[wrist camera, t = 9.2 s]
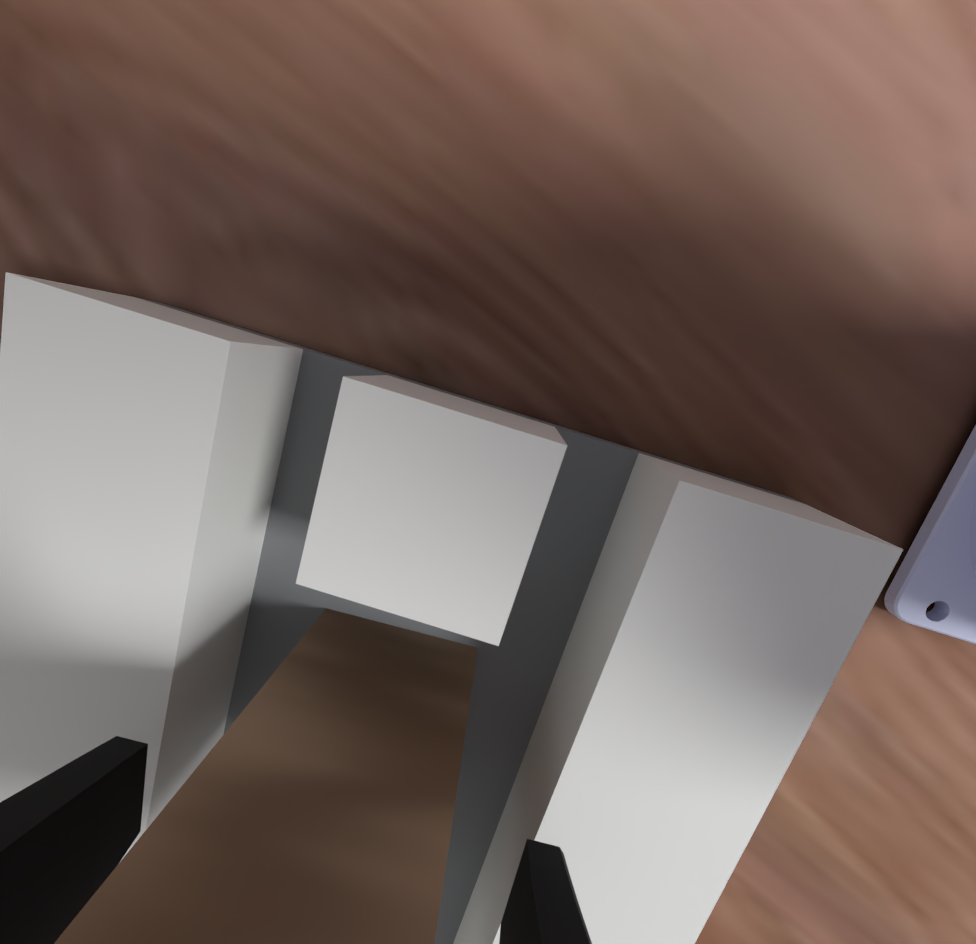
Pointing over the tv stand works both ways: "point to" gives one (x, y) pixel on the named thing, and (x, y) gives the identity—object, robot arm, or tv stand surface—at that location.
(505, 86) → the tv stand surface
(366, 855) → the walnut pin
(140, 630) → the socket block
